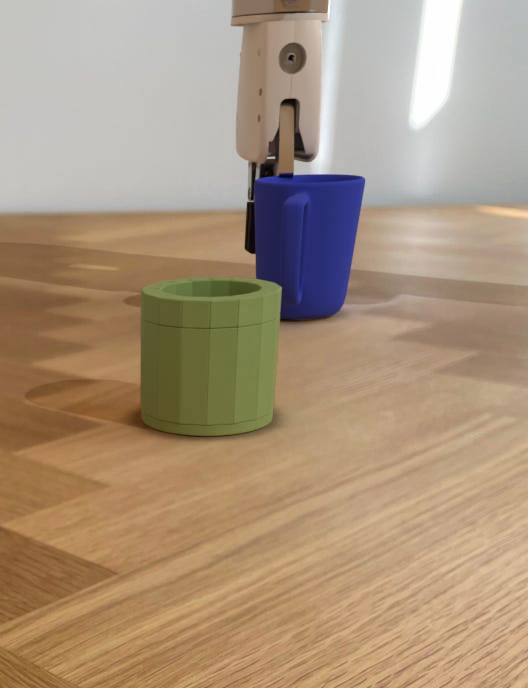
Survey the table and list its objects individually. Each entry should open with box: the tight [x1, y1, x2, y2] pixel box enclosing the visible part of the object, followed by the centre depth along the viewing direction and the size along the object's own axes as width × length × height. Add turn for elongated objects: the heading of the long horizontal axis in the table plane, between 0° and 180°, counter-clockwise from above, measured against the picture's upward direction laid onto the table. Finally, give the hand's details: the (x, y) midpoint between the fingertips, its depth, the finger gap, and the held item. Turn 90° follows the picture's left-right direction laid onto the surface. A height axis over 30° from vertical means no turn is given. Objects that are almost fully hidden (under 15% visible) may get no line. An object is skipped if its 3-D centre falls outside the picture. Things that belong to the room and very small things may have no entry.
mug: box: [253, 173, 366, 321], centre depth 80 cm, size 8×12×10 cm
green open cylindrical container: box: [139, 276, 282, 437], centre depth 57 cm, size 7×7×7 cm
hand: (264, 251), depth 90 cm, fingers closed
